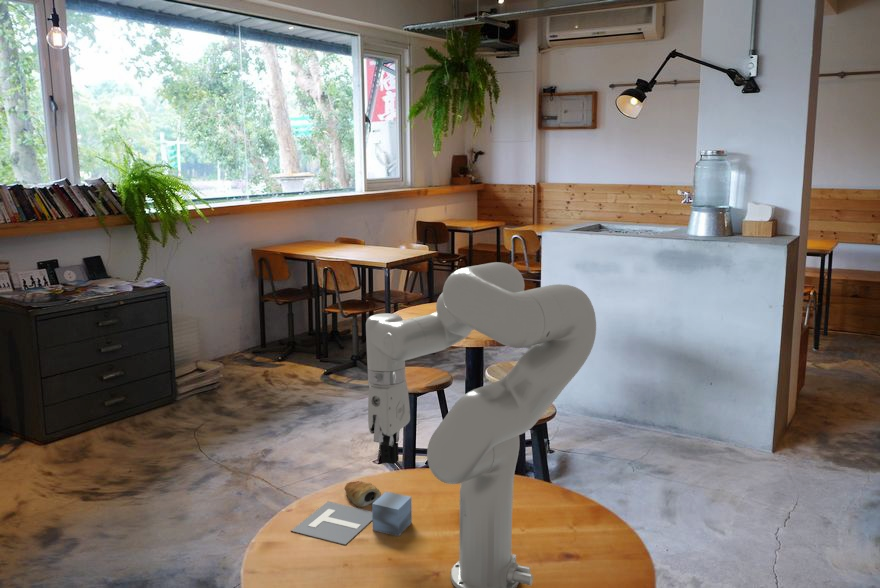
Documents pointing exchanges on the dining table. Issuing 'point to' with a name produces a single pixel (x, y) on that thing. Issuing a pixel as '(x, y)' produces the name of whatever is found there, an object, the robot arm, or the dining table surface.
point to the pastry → (362, 493)
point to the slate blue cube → (392, 513)
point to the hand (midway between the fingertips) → (390, 461)
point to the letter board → (335, 523)
